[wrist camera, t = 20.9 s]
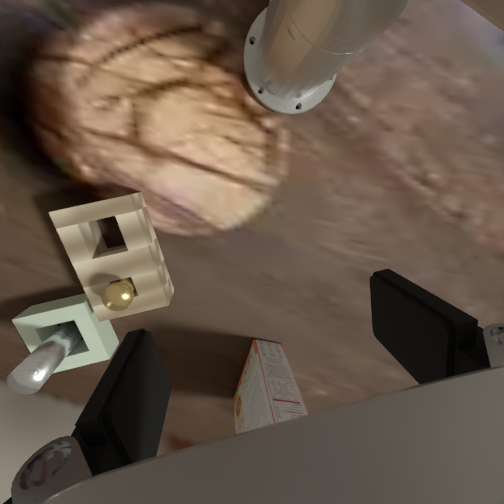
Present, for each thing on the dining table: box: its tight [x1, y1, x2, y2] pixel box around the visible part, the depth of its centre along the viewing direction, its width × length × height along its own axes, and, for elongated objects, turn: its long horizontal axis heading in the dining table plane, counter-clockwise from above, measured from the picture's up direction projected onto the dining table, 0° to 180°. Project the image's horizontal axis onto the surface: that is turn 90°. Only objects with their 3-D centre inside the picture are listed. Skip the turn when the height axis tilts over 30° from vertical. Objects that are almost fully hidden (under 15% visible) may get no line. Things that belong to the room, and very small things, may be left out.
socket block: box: [48, 192, 174, 322], centre depth 37 cm, size 16×10×5 cm, turn 12°
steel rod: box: [7, 320, 82, 394], centre depth 36 cm, size 4×4×12 cm
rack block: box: [12, 293, 119, 373], centre depth 40 cm, size 10×10×4 cm
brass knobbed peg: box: [101, 277, 136, 311], centre depth 37 cm, size 4×4×8 cm
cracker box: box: [233, 339, 308, 434], centre depth 39 cm, size 14×6×21 cm, turn 163°
